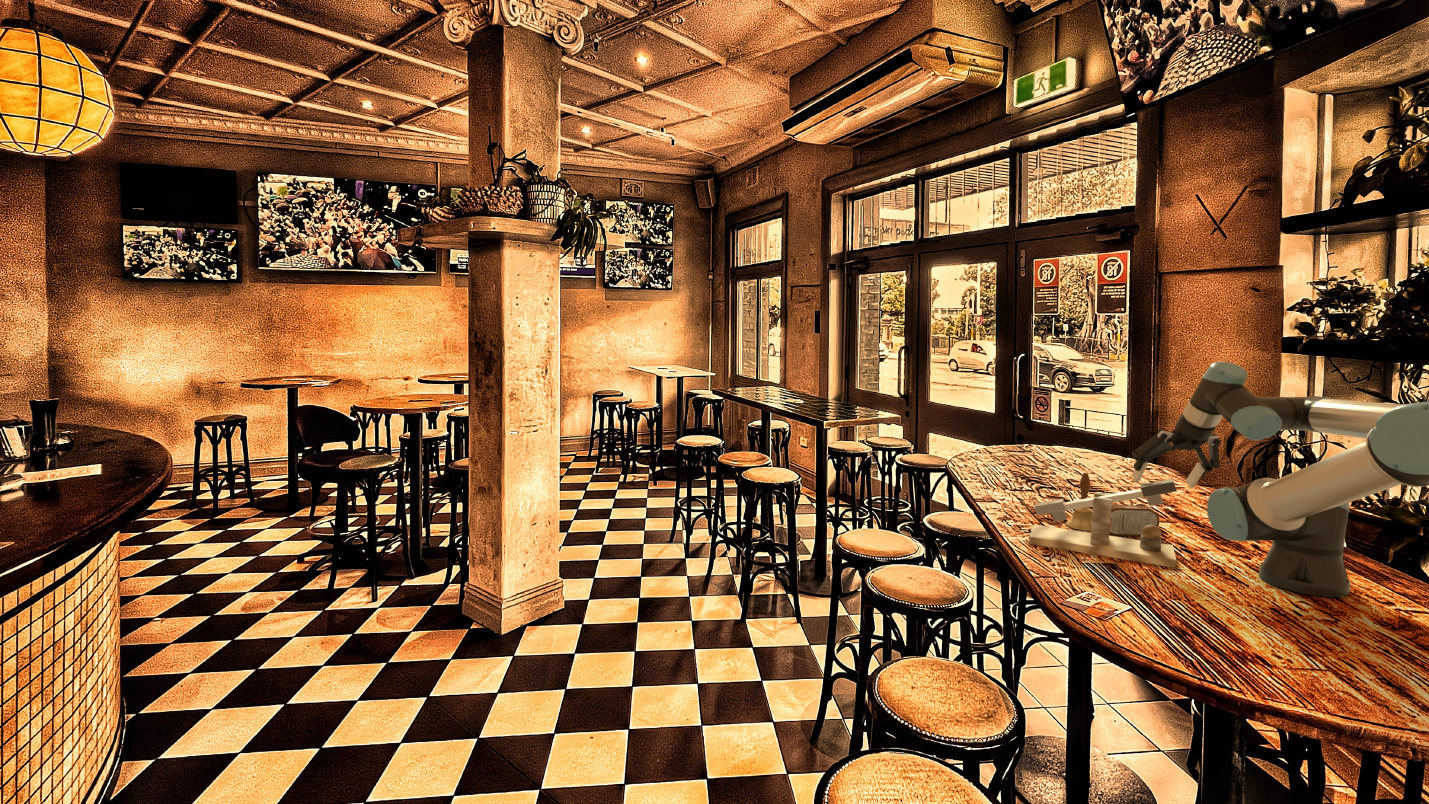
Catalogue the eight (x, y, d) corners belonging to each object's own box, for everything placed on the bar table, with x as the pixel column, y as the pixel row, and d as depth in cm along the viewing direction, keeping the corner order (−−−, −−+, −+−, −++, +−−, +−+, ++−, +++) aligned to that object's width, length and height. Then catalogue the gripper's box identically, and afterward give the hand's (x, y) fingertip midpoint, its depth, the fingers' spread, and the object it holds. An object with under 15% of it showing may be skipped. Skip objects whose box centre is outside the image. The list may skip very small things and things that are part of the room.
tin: (1153, 534, 178) (1156, 504, 177) (1160, 537, 175) (1162, 508, 174) (1097, 532, 180) (1099, 503, 179) (1102, 536, 177) (1104, 506, 176)
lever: (1179, 498, 158) (1172, 478, 159) (1180, 501, 155) (1173, 481, 156) (1041, 520, 176) (1035, 503, 176) (1040, 524, 173) (1034, 506, 173)
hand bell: (1103, 532, 180) (1107, 477, 178) (1071, 530, 182) (1075, 475, 180) (1092, 523, 188) (1096, 470, 186) (1061, 521, 190) (1065, 469, 188)
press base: (1172, 552, 164) (1176, 499, 162) (1175, 567, 154) (1180, 511, 152) (1033, 531, 181) (1036, 483, 179) (1028, 543, 171) (1032, 492, 169)
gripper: (1246, 415, 158) (1206, 476, 171) (1139, 405, 161) (1107, 466, 174) (1262, 434, 152) (1219, 496, 165) (1150, 423, 155) (1117, 485, 168)
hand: (1162, 481), depth 170 cm, fingers open, 13 cm apart
